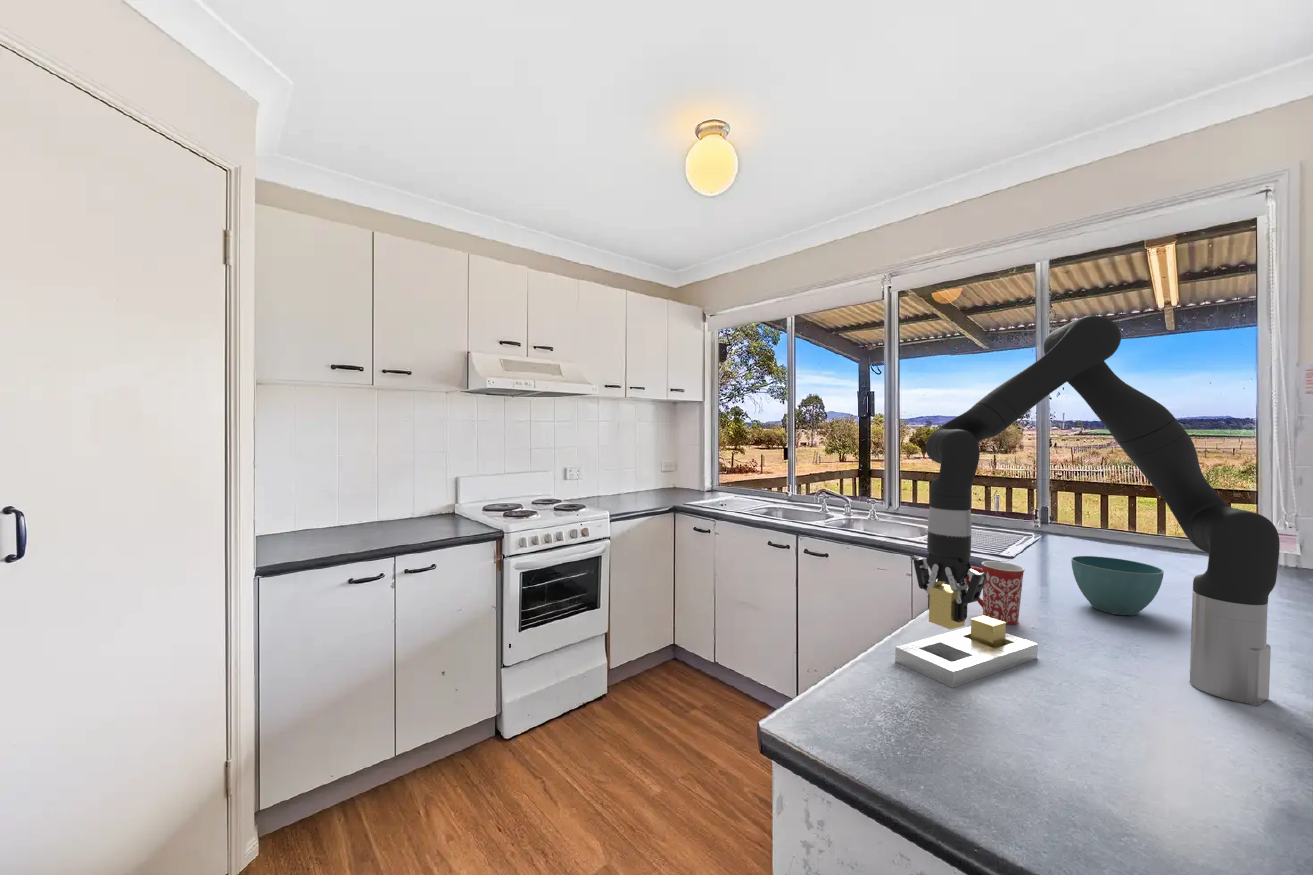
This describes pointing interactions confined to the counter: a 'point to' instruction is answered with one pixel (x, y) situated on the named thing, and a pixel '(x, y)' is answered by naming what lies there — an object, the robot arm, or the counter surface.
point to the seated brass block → (988, 631)
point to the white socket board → (963, 656)
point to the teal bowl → (1116, 583)
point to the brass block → (943, 607)
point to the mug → (1001, 590)
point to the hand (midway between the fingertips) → (946, 616)
